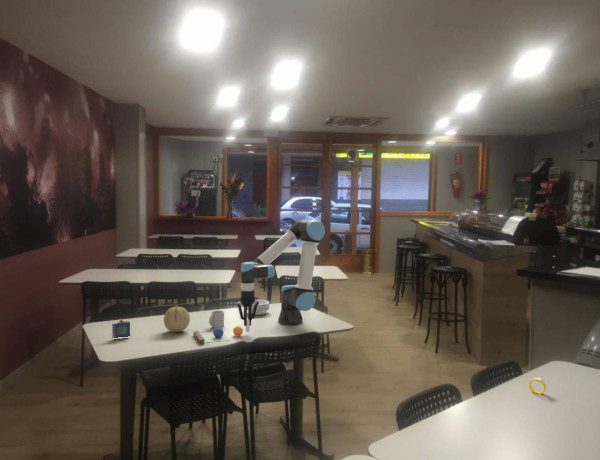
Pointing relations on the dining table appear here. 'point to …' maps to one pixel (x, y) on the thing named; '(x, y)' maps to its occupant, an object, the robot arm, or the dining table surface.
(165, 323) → the cantaloupe
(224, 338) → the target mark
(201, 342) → the backstop rail
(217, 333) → the navy ball
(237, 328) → the orange ball
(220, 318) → the cup
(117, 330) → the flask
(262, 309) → the paper bowls
